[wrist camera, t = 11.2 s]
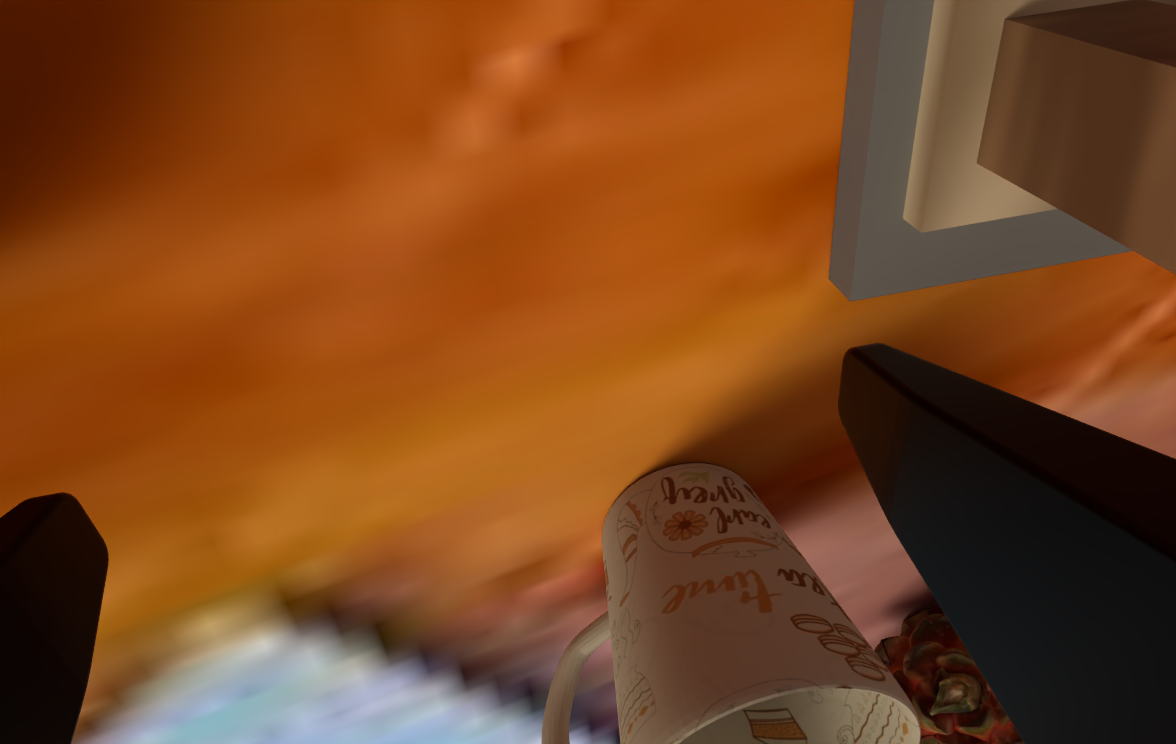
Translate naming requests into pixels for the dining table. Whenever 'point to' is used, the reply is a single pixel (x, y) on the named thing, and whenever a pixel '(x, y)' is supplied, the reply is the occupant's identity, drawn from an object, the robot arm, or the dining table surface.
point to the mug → (724, 629)
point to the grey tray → (881, 171)
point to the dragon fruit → (944, 684)
